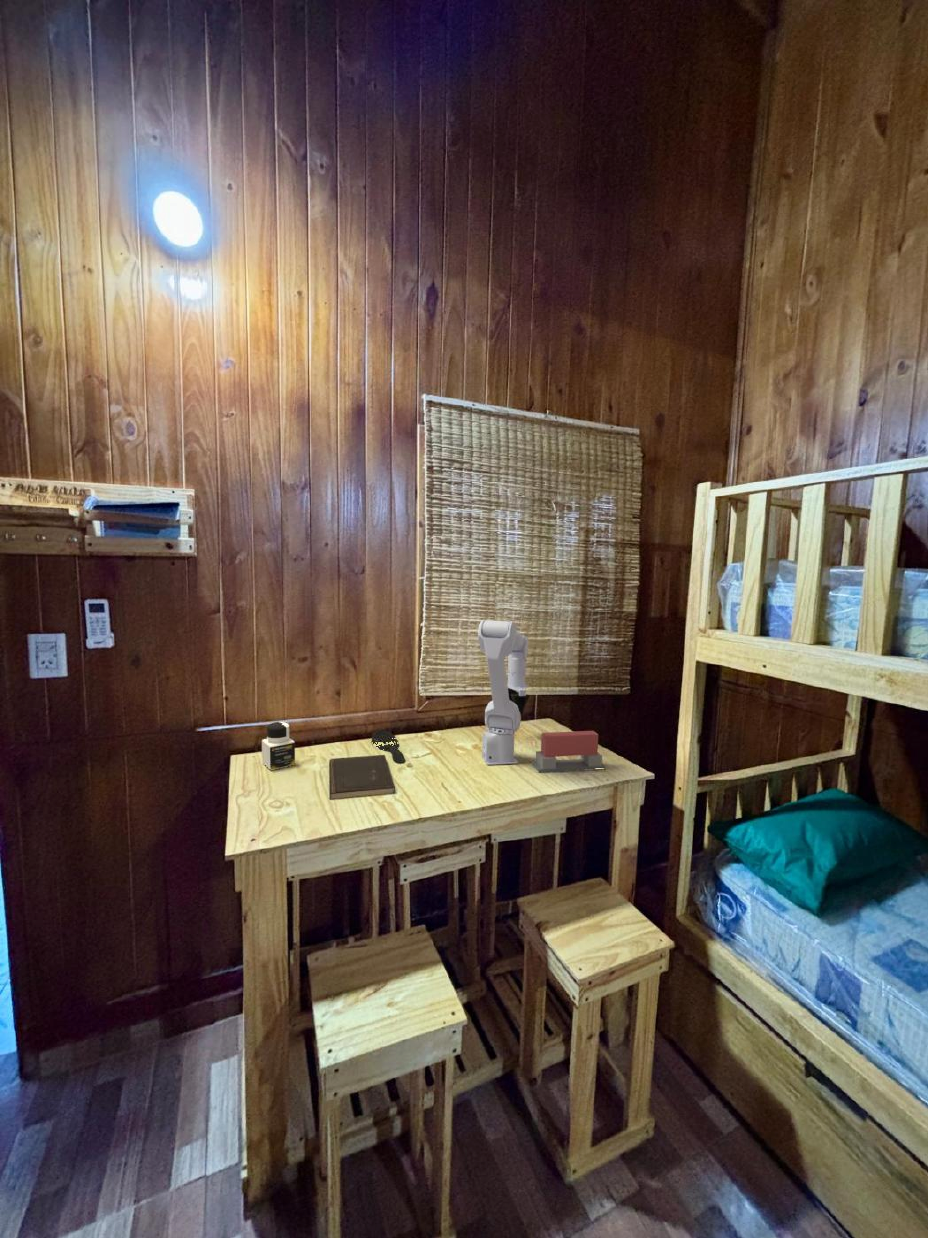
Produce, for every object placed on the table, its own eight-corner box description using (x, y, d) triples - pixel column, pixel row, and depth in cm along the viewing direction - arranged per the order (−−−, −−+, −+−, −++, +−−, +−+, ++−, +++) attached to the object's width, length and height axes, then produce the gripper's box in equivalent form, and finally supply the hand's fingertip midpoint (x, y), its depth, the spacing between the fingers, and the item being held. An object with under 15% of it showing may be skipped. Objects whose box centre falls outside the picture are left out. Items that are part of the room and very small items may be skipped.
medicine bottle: (270, 771, 143) (269, 729, 141) (261, 763, 148) (261, 723, 147) (295, 765, 147) (295, 724, 146) (286, 758, 153) (285, 718, 151)
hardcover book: (384, 762, 152) (384, 754, 152) (394, 795, 130) (394, 786, 130) (329, 766, 148) (329, 758, 148) (329, 801, 126) (329, 792, 126)
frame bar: (544, 757, 146) (545, 736, 145) (540, 752, 150) (541, 732, 149) (597, 754, 149) (598, 734, 148) (592, 750, 152) (593, 730, 152)
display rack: (538, 772, 145) (539, 759, 145) (532, 764, 151) (532, 751, 150) (604, 769, 148) (605, 755, 148) (595, 761, 154) (596, 748, 154)
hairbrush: (387, 757, 148) (368, 728, 170) (387, 770, 148) (368, 738, 171) (415, 754, 151) (392, 725, 174) (414, 766, 152) (392, 736, 174)
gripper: (535, 676, 161) (534, 718, 162) (522, 667, 175) (520, 706, 176) (513, 676, 159) (512, 719, 161) (502, 667, 174) (501, 706, 175)
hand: (515, 712), depth 168 cm, fingers open, 7 cm apart
